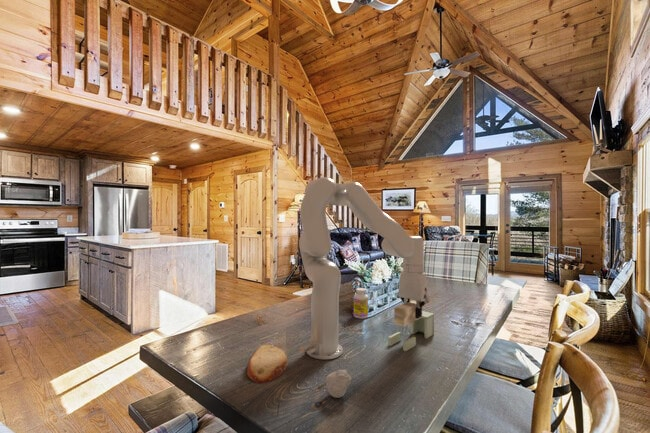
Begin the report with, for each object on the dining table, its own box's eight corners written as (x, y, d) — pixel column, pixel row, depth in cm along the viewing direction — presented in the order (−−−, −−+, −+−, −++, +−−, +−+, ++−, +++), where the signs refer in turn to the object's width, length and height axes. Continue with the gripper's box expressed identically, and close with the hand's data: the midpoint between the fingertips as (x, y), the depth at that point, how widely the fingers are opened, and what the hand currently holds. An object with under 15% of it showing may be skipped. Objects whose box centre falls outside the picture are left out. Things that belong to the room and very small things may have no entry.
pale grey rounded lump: (347, 406, 77) (347, 378, 77) (321, 399, 79) (321, 372, 79) (354, 393, 83) (354, 367, 82) (329, 387, 85) (330, 362, 85)
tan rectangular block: (403, 326, 110) (403, 309, 110) (394, 324, 112) (394, 307, 112) (422, 317, 120) (422, 301, 120) (413, 315, 122) (413, 300, 122)
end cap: (426, 338, 119) (427, 317, 119) (410, 333, 124) (411, 313, 124) (433, 334, 124) (434, 313, 124) (418, 329, 128) (418, 309, 128)
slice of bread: (269, 348, 111) (269, 337, 110) (305, 364, 99) (306, 352, 99) (224, 366, 97) (224, 354, 97) (260, 388, 85) (260, 374, 85)
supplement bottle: (351, 317, 143) (351, 289, 142) (356, 313, 148) (357, 286, 148) (365, 320, 139) (365, 291, 139) (370, 315, 145) (370, 288, 145)
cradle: (405, 351, 108) (405, 342, 108) (388, 345, 113) (388, 336, 113) (415, 345, 113) (415, 337, 113) (398, 339, 118) (398, 331, 118)
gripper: (389, 267, 121) (389, 313, 121) (429, 272, 109) (429, 324, 110) (399, 264, 126) (399, 309, 127) (438, 270, 115) (438, 319, 115)
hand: (413, 315), depth 118 cm, fingers closed on tan rectangular block, 3 cm apart
